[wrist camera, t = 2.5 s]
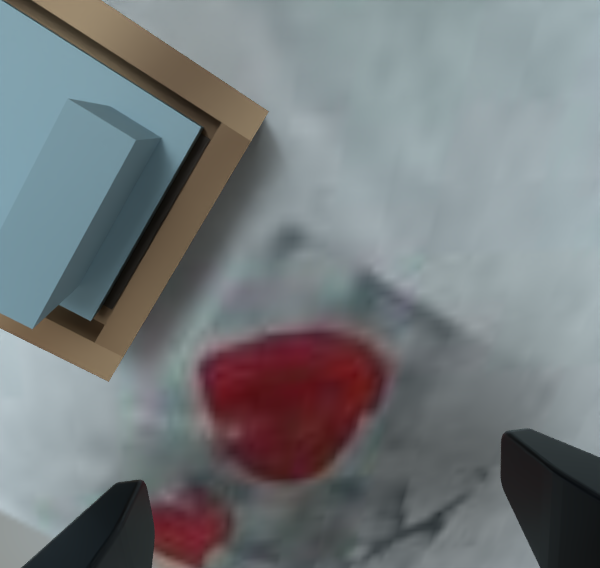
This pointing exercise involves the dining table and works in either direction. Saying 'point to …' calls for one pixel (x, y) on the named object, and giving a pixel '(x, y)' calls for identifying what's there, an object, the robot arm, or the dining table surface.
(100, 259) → the lid
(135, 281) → the slide box
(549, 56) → the dining table surface
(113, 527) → the robot arm
